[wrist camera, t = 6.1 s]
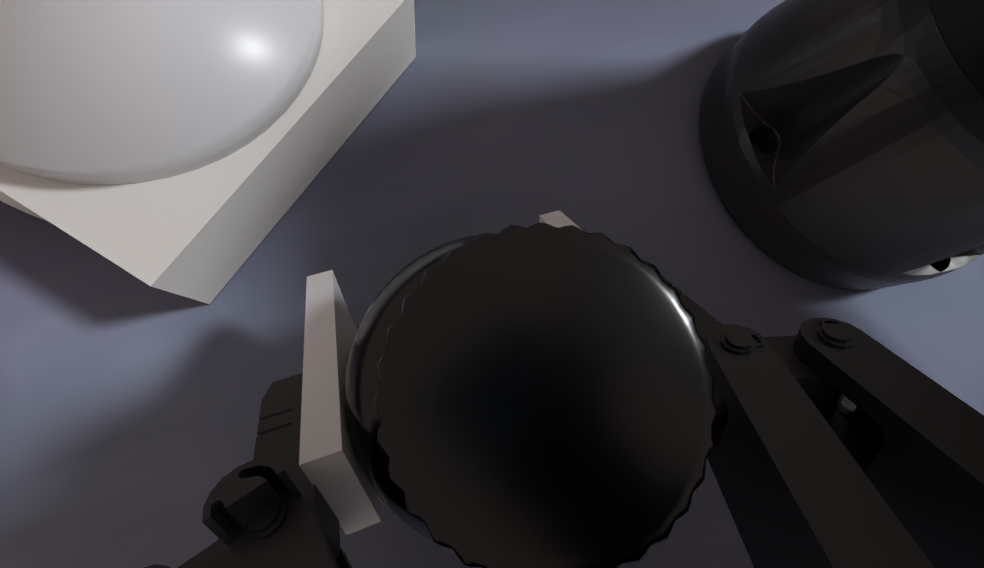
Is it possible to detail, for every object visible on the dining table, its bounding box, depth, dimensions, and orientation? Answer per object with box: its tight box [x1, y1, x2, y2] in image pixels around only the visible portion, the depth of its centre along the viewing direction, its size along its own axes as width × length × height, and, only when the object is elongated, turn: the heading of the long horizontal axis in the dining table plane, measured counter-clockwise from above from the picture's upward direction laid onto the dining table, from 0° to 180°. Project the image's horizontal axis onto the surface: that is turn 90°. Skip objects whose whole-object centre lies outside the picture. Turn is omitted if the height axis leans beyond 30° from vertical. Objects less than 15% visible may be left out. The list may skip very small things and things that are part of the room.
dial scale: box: [0, 0, 416, 304], centre depth 16 cm, size 15×14×5 cm
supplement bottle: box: [344, 222, 718, 568], centre depth 11 cm, size 7×7×12 cm
